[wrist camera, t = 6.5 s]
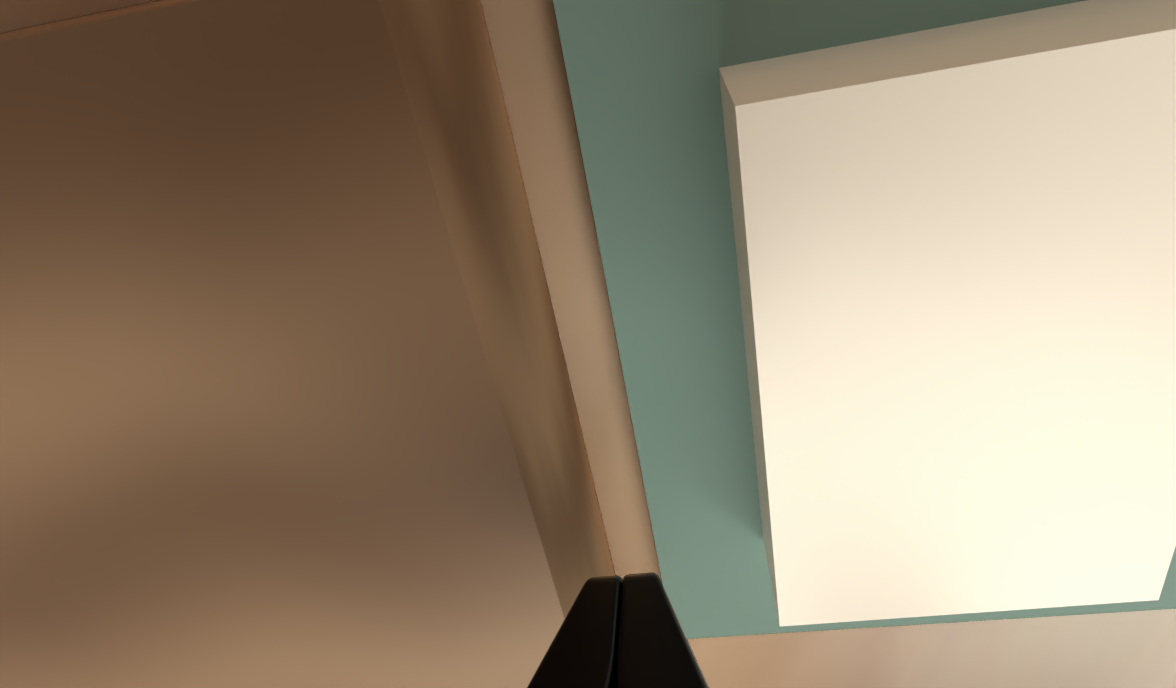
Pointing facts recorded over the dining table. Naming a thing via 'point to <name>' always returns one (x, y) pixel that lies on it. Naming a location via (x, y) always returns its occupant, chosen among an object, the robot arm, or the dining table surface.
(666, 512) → the mat
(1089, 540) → the cream rectangular tile
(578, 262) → the dining table surface
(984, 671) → the dining table surface
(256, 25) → the brown wooden flat block
